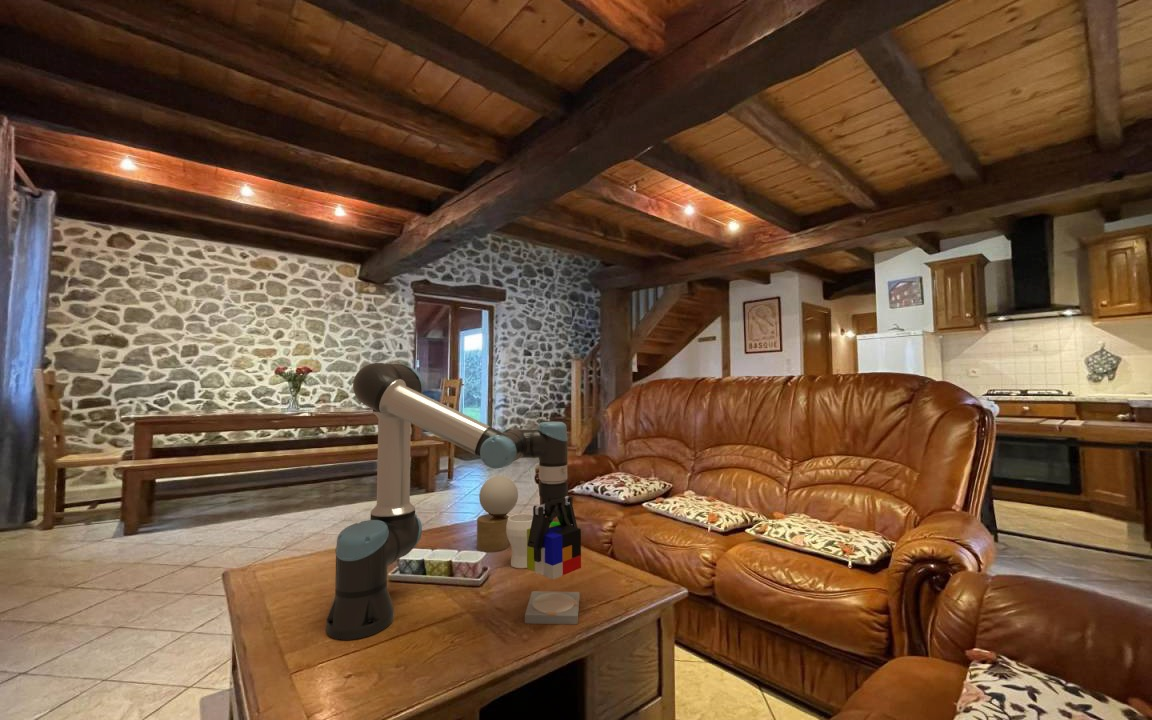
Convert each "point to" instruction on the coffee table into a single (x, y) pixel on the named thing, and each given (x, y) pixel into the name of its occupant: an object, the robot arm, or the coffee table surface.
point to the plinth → (553, 608)
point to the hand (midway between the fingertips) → (553, 566)
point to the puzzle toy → (558, 550)
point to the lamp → (495, 513)
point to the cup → (518, 538)
